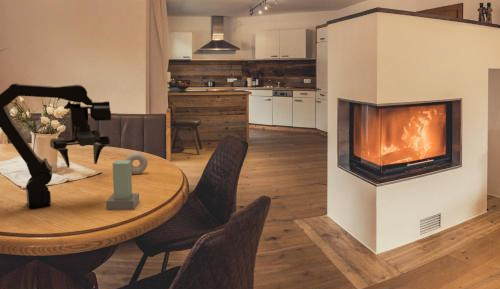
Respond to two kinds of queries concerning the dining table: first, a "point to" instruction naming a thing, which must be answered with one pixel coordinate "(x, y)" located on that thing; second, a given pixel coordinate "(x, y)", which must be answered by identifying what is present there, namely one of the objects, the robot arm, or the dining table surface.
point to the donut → (142, 162)
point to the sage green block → (122, 179)
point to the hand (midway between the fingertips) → (82, 165)
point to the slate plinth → (122, 202)
